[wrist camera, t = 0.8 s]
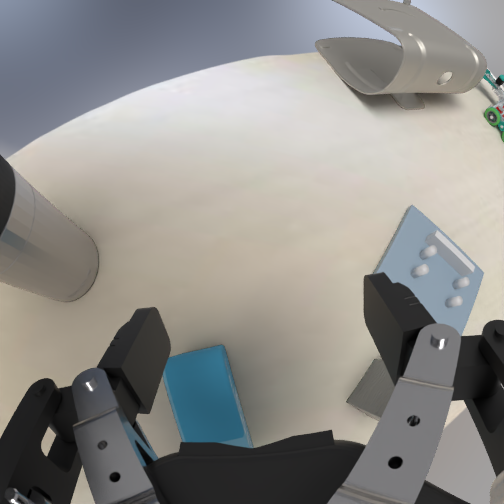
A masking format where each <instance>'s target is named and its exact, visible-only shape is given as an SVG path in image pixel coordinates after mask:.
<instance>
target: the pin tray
mask: <svg viewBox="0 0 504 504" xmlns="http://www.w3.org/2000/svg"><path fill="white" fill-rule="evenodd" d="M381 272H384V273H385V274H386V275H387V276H388V277H389V279H390V280H391V281H392V283H396V282H399V283H401V284H403V285H405V286H407V287H408V288H409V289H410V290H411V291H412V292H413V293H414V295H415V297H417V298H418V300H419V301H420V303H422V305H423V306H424V307H425V308H426V310H427V311H428V312H429V313H430V315H431V316H432V317H433V318H434V320H435V321H436V322H437V323H440V324H446V325H449V326H451V327H453V328H454V329H456V330H457V331H458V333H459V334H460V336H461V335H462V333H463V331H464V328H465V326H466V323H467V321H468V318H469V315H470V313H471V310H472V307H473V305H474V302H475V299H476V296H477V293H478V290H479V287H480V284H481V281H482V278H483V275H484V272H483V271H482V270H481V269H480V268H479V267H478V266H477V265H476V264H475V263H474V262H473V261H472V260H471V259H470V258H469V257H468V256H467V255H466V254H465V253H464V252H463V251H462V250H461V249H460V248H459V247H458V246H457V245H456V244H455V243H454V242H453V241H452V240H451V239H450V238H449V237H448V236H447V235H446V234H445V233H444V232H443V231H441V230H440V229H439V228H438V227H437V226H436V225H435V224H434V223H433V222H432V221H430V220H429V219H428V218H427V217H426V216H425V215H424V214H423V213H421V212H420V211H419V210H418V209H417V208H416V207H414V206H413V205H411V206H410V207H408V209H407V211H406V213H405V215H404V217H403V219H402V221H401V223H400V225H399V227H398V229H397V231H396V232H395V234H394V236H393V238H392V240H391V242H390V244H389V246H388V248H387V249H386V251H385V253H384V255H383V257H382V258H381V260H380V262H379V264H378V266H377V267H376V269H375V271H374V273H373V274H376V273H381Z"/></svg>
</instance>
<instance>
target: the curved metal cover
mask: <svg viewBox="0 0 504 504" xmlns="http://www.w3.org/2000/svg"><path fill="white" fill-rule="evenodd" d="M332 1H334V2H337V3H339V4H340V5H342V6H344V7H346V8H348V9H350V10H352V11H354V12H356V13H358V14H359V15H361V16H363V17H365V18H366V19H368V20H370V21H371V22H373V23H375V24H376V25H378V26H380V27H381V28H383V29H385V30H386V31H388V32H389V33H391V34H392V35H394V36H395V37H396V38H397V39H398V40H399V41H400V43H401V45H402V47H403V48H401V47H400V46H398V45H396V44H394V43H391V42H387V41H382V40H376V39H369V38H354V37H348V38H347V37H341V38H329V39H322V40H318V41H316V42H315V47H316V48H317V50H318V52H319V53H320V54H321V55H322V56H323V58H324V59H325V60H326V61H327V63H328V64H329V65H330V66H331V68H332V69H333V70H334V71H335V73H336V74H337V75H338V76H339V77H340V78H341V79H342V80H344V81H345V82H346V83H347V84H348V85H349V86H351V87H352V88H354V89H355V90H357V91H359V92H361V93H363V94H367V95H374V94H389V93H390V95H391V96H392V97H393V98H394V100H395V101H396V102H397V103H398V105H399V106H400V107H402V108H403V109H406V110H415V109H423V108H425V104H424V102H423V101H422V99H421V98H420V97H419V95H418V94H417V93H455V94H458V93H465V92H467V91H469V90H471V89H472V88H474V87H475V86H476V85H477V84H478V83H479V82H480V81H481V79H482V78H483V76H484V75H485V73H486V70H487V62H486V59H485V57H484V56H483V54H482V53H481V52H480V51H479V50H477V49H476V48H475V47H474V46H472V45H471V44H470V43H468V42H467V41H466V40H465V39H463V38H462V37H461V36H459V35H458V34H456V33H455V32H454V31H452V30H451V29H449V28H448V27H447V26H445V25H444V24H442V23H440V22H439V21H438V20H436V19H434V18H433V17H431V16H430V15H428V14H427V13H425V12H423V11H422V10H420V9H418V8H417V7H414V6H412V5H410V3H411V0H404V2H403V3H400V2H395V1H390V0H332ZM446 72H452V77H451V78H450V79H449V80H448V81H447V82H445V83H442V84H438V83H437V81H438V79H439V78H440V77H441V76H442V75H443V74H444V73H446Z"/></svg>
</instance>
